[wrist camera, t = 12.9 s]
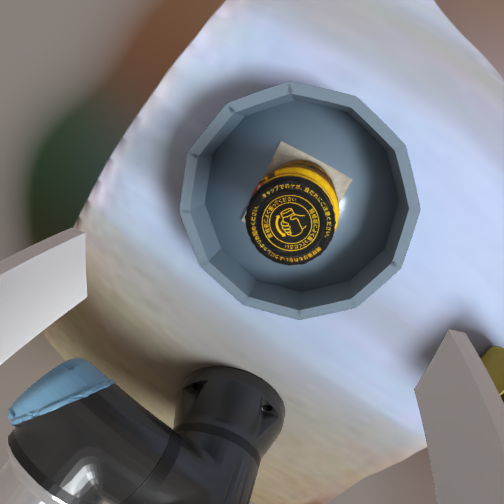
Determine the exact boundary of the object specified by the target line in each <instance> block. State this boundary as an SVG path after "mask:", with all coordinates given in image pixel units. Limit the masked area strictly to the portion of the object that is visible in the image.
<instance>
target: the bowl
mask: <svg viewBox="0 0 504 504" xmlns="http://www.w3.org/2000/svg"><path fill="white" fill-rule="evenodd" d="M281 141H282V142H284V143H286V144H288V145H290V146H292V147H294V148H296V149H298V150H300V151H302V152H304V153H306V154H308V155H310V156H312V157H313V158H315V159H317V160H319V161H321V162H323V163H325V164H326V165H328V166H330V167H332V168H334V169H335V170H337V171H339V172H341V173H343V174H344V175H346V176H348V177H350V178H351V179H353V180H352V181H351V183H350V185H349V187H348V189H347V190H346V192H345V194H344V196H343V197H342V199H341V201H340V203H339V220H338V225H337V229H336V231H335V233H334V234H333V238H332V241H331V242H330V243H329V245H328V247H327V249H326V250H325V251H324V252H323V253H322V254H321V255H320V256H318V257H316V258H315V259H313V260H312V261H309V262H307V263H306V264H302V265H289V266H288V265H283V264H279V263H276V262H273V261H272V260H270V259H268V258H266V257H265V256H263V255H262V254H261V253H259V251H258V250H257V249H256V247H255V245H254V244H252V242H251V240H250V237H249V235H248V233H247V228H246V223H245V222H243V221H242V218H243V216H244V214H245V212H246V209H247V206H248V205H249V201H250V198H251V196H252V193H253V191H254V189H255V188H256V186H257V184H258V183H259V182H260V181H261V180H262V178H263V176H264V174H265V172H266V170H267V168H268V166H269V164H270V162H271V160H272V158H273V156H274V154H275V152H276V150H277V148H278V146H279V144H280V142H281ZM179 211H180V212H179V213H180V215H181V218H182V221H183V223H184V226H185V229H186V231H187V234H188V237H189V239H190V242H191V244H192V247H193V250H194V252H195V255H196V257H197V260H198V262H199V265H200V267H201V268H202V269H203V270H205V271H206V272H207V273H208V274H209V275H210V276H211V277H212V278H213V279H215V280H216V281H217V282H218V283H219V284H220V285H221V286H222V287H223V288H225V289H226V290H227V291H228V292H229V293H230V294H231V295H233V296H234V297H235V298H236V299H237V300H238V301H239V302H240V303H242V304H244V305H245V306H249V307H252V308H256V309H259V310H263V311H267V312H270V313H274V314H278V315H282V316H286V317H289V318H293V319H297V320H302V319H307V318H312V317H316V316H321V315H326V314H330V313H335V312H339V311H344V310H348V309H353V308H356V307H357V306H359V305H360V304H361V303H362V302H363V301H365V300H366V299H367V298H368V297H369V296H370V295H372V294H373V293H374V292H375V291H376V290H377V289H379V288H380V287H381V286H382V285H383V284H384V283H385V282H387V281H388V280H389V279H390V278H391V277H392V276H393V275H394V274H395V273H397V272H398V271H399V270H400V269H401V267H402V264H403V261H404V259H405V256H406V253H407V250H408V247H409V244H410V241H411V238H412V235H413V232H414V229H415V226H416V223H417V219H418V216H419V213H420V204H419V199H418V194H417V190H416V185H415V181H414V176H413V172H412V168H411V164H410V160H409V156H408V153H407V149H406V145H405V144H404V143H403V142H402V141H401V140H400V139H399V138H398V137H397V136H396V134H395V133H394V132H393V131H392V130H391V129H390V128H389V127H388V126H387V125H386V124H385V123H384V122H383V121H382V120H381V119H380V118H379V117H378V116H377V115H376V114H375V113H374V112H373V111H372V110H370V109H369V108H368V107H367V106H366V105H365V104H364V103H363V102H362V101H361V100H360V99H359V98H358V97H356V96H353V95H349V94H345V93H341V92H337V91H333V90H329V89H324V88H320V87H315V86H311V85H306V84H301V83H296V82H286V83H283V84H279V85H276V86H273V87H270V88H267V89H265V90H262V91H259V92H256V93H253V94H250V95H248V96H245V97H242V98H239V99H237V100H234V101H232V102H229V103H227V104H226V105H225V106H224V107H223V108H222V110H221V111H220V112H219V113H218V115H217V116H216V117H215V118H214V119H213V121H212V122H211V123H210V124H209V126H208V127H207V128H206V129H205V131H204V132H203V133H202V134H201V136H200V137H199V138H198V139H197V141H196V142H195V143H194V145H193V146H192V147H191V148H190V150H189V151H188V153H187V159H186V165H185V172H184V179H183V186H182V194H181V201H180V209H179Z"/></svg>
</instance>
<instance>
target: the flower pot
mask: <svg viewBox="0 0 504 504" xmlns="http://www.w3.org/2000/svg"><path fill="white" fill-rule="evenodd" d="M480 359H481V361H482V362H483V364H484V366H485V368H486V370H487V371H488V373H489V375H490V377H491V379H492V381H493V383H494V385H495V387H496V389H497V391H498V393H499V395H500V397H501V399H502V401H503V403H504V348H502V347H497V346H494V347H491V348H490V349H489V350H488V351H487V352H486V353H485V354H484V355H483V356H482V357H481V358H480Z"/></svg>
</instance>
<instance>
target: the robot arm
mask: <svg viewBox="0 0 504 504" xmlns="http://www.w3.org/2000/svg"><path fill="white" fill-rule="evenodd" d="M85 298H87V283H86V259H85V232H82V231H79V230H75V229H72V228H70V229H68V230H66V231H63V232H61V233H59V234H56V235H54V236H52V237H50V238H47V239H45V240H43V241H41V242H38V243H36V244H34V245H32V246H30V247H28V248H26V249H23V250H21V251H20V252H17V253H15V254H13V255H11V256H9V257H7V258H5V259H3V260H1V261H0V365H1V364H2V363H3V362H4V361H6V360H7V359H8V358H9V357H10V356H12V355H13V354H14V353H15V352H17V351H18V350H19V349H20V348H21V347H23V346H24V345H25V344H26V343H28V342H29V341H30V340H31V339H33V338H34V337H35V336H37V335H38V334H39V333H40V332H42V331H43V330H44V329H46V328H47V327H48V326H49V325H51V324H52V323H53V322H55V321H56V320H57V319H59V318H60V317H61V316H62V315H64V314H65V313H66V312H68V311H69V310H70V309H72V308H73V307H74V306H76V305H77V304H78V303H80V302H81V301H82V300H84V299H85ZM115 383H116V382H115V381H114V380H113V379H109V378H108V377H107V376H106V375H104V374H103V373H102V372H101V371H100V370H98V369H97V368H96V367H95V366H94V365H93V364H92V363H90V362H89V361H87V360H85V359H82V358H74V359H70V360H68V361H65V362H63V363H62V364H60V365H58V366H57V367H55V368H54V369H52V370H51V371H49V372H48V373H47V374H45V375H44V376H43V377H41V378H40V379H39V380H37V381H36V382H35V383H34V384H33V385H31V386H30V387H29V388H28V389H27V390H26V391H25V392H24V393H22V394H21V395H20V396H19V397H18V398H17V399H16V401H15V402H14V403H13V405H12V406H11V407H10V408H9V409H8V411H7V417H8V419H9V420H10V423H11V424H12V425H13V426H15V429H14V430H13V431H12V432H11V434H10V435H9V436H8V438H7V440H6V441H7V442H6V443H7V447H8V452H9V456H10V459H9V460H8V461H7V463H6V464H5V465H4V467H3V468H2V469H1V470H0V504H102V502H104V501H106V502H107V503H109V504H249V502H250V498H251V495H252V491H253V487H254V484H255V480H256V476H257V472H258V468H259V464H260V461H261V458H262V457H263V456H264V454H265V453H266V452H267V450H268V449H269V448H270V446H271V445H272V444H273V442H274V441H275V439H276V438H277V437H278V435H279V434H280V432H281V429H282V426H283V422H284V417H285V407H284V404H283V401H282V399H281V397H280V396H279V395H278V393H277V392H276V391H275V390H274V389H273V388H272V387H271V386H270V385H269V384H267V383H266V382H265V381H263V380H262V379H260V378H258V377H256V376H254V375H252V374H250V373H247V372H245V371H242V370H238V369H234V368H228V367H208V368H203V369H200V370H197V371H195V372H193V373H192V374H190V375H189V376H188V377H187V378H186V380H185V381H184V383H183V385H182V386H181V388H180V390H179V392H178V395H177V400H176V409H175V418H174V428H173V430H172V429H171V428H170V427H169V426H167V425H166V424H165V423H163V422H162V421H161V420H159V419H158V418H157V417H155V416H154V415H153V414H151V413H150V412H149V411H148V410H146V409H145V408H144V407H143V406H141V405H140V404H139V403H138V402H136V401H135V400H134V399H133V398H132V397H130V396H129V395H128V394H127V393H126V392H125V391H123V390H122V389H121V388H120V387H119V386H118V385H116V384H115ZM414 391H415V394H416V398H417V402H418V406H419V410H420V415H421V419H422V423H423V428H424V432H425V437H426V442H427V446H428V451H429V457H430V462H431V467H432V473H433V479H434V485H435V492H436V499H437V504H504V403H503V401H502V399H501V397H500V395H499V393H498V391H497V389H496V387H495V385H494V383H493V381H492V379H491V377H490V375H489V373H488V371H487V370H486V368H485V366H484V364H483V362H482V361H481V359H480V357H479V355H478V353H477V352H476V350H475V348H474V347H473V345H472V343H471V341H470V340H469V338H468V336H467V335H466V333H464V332H460V331H455V330H451V329H448V331H447V333H446V335H445V337H444V339H443V341H442V342H441V344H440V346H439V348H438V350H437V352H436V353H435V355H434V357H433V359H432V361H431V362H430V364H429V366H428V367H427V369H426V371H425V373H424V374H423V376H422V377H421V379H420V381H419V382H418V384H417V386H416V387H415V389H414Z"/></svg>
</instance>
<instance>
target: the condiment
mask: <svg viewBox="0 0 504 504" xmlns="http://www.w3.org/2000/svg"><path fill="white" fill-rule="evenodd" d="M352 180H353V179H351V178H350V177H348V176H346V175H344V174H343V173H341V172H339V171H337V170H335V169H334V168H332V167H330V166H328V165H326V164H325V163H323V162H321V161H319V160H317V159H315V158H313V157H312V156H310V155H308V154H306V153H304V152H302V151H300V150H298V149H296V148H294V147H292V146H290V145H288V144H286V143H284V142H282V141H281V142H280V144H279V146H278V148H277V150H276V152H275V154H274V156H273V158H272V160H271V162H270V164H269V166H268V168H267V170H266V172H265V174H264V176H263V178H262V180H261V181H260V182H259V183H258V184H257V186H256V188H255V189H254V191H253V193H252V196H251V198H250V201H249V205H248V206H247V209H246V212H245V214H244V216H243V218H242V221H243V222H245V223H246V228H247V233H248V235H249V237H250V240H251V242H252V244H254V245H255V247H256V249H257V250H258V251H259V253H261V254H262V255H263V256H265V257H266V258H268V259H270V260H272V261H273V262H276V263H279V264H283V265H288V266H289V265H302V264H306V263H307V262H309V261H312V260H313V259H315V258H316V257H318V256H320V255H321V254H322V253H323V252H324V251H325V250H326V249H327V247H328V245H329V243H330V242H331V241H332V238H333V234H334V233H335V231H336V229H337V225H338V220H339V203H340V201H341V199H342V197H343V196H344V194H345V192H346V190H347V189H348V187H349V185H350V183H351V181H352Z"/></svg>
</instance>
